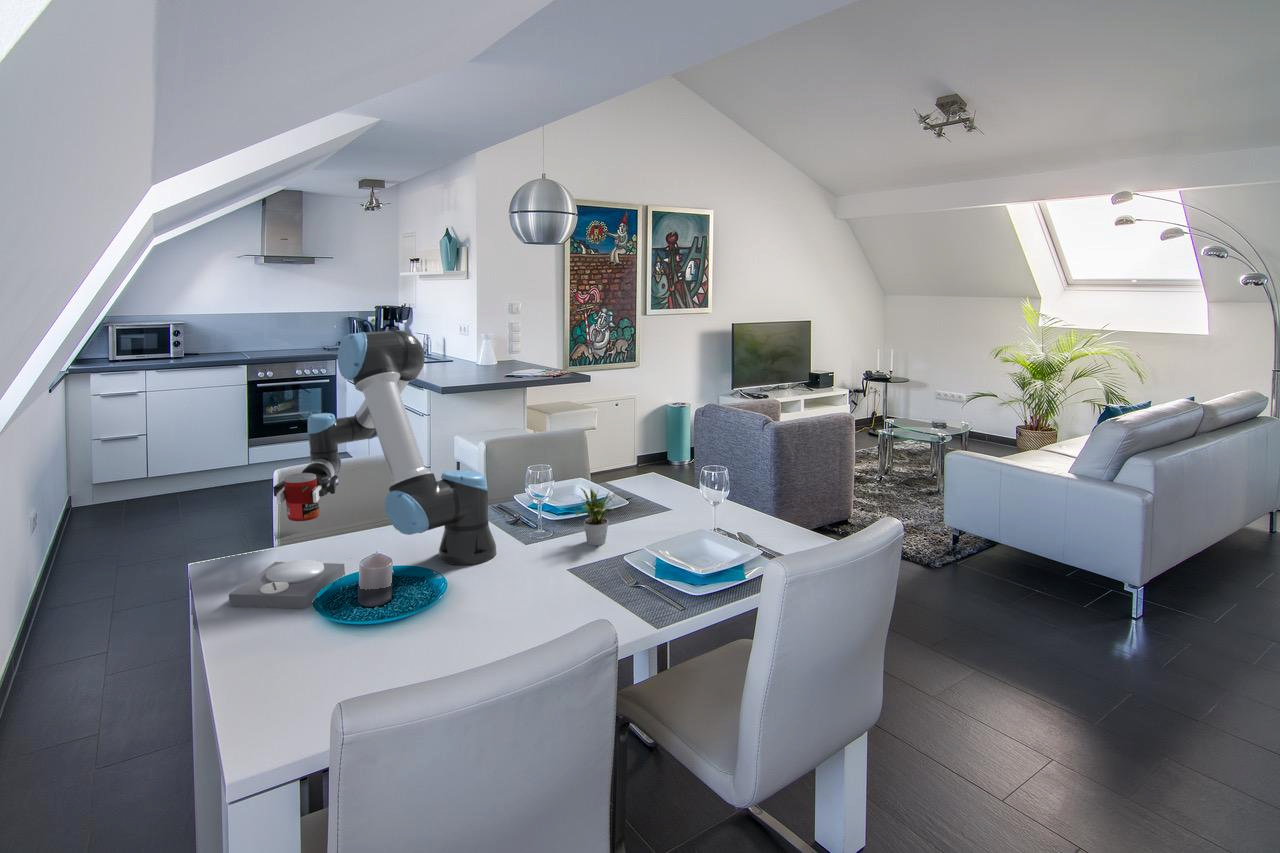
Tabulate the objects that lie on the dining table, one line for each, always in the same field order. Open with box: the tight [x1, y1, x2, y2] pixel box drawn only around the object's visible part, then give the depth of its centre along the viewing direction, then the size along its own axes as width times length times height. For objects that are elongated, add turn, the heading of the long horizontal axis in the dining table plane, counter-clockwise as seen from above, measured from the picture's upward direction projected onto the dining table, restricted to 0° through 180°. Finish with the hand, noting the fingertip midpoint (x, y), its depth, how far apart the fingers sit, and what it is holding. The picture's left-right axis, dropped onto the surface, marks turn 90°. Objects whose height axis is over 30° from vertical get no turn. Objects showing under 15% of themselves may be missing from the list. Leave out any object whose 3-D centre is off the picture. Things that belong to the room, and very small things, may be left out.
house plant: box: [570, 486, 619, 546], centre depth 218 cm, size 14×14×16 cm
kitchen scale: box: [228, 559, 346, 610], centre depth 186 cm, size 18×20×4 cm
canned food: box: [283, 472, 320, 522], centre depth 201 cm, size 8×8×11 cm
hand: (296, 498), depth 196 cm, fingers closed on canned food, 8 cm apart
